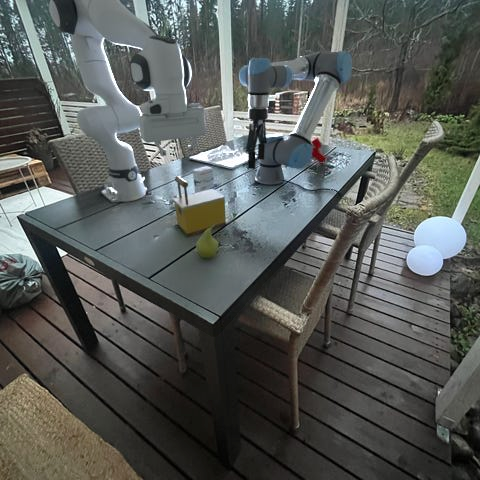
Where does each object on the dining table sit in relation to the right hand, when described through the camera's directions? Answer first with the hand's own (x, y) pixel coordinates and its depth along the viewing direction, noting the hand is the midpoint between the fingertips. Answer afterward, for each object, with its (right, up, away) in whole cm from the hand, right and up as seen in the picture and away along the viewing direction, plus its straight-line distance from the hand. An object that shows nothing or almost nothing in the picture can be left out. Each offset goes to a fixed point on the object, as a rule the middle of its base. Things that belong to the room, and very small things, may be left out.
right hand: (256, 163), depth 113 cm
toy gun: (+36, +17, +58) cm, 70 cm away
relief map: (-18, +22, +66) cm, 71 cm away
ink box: (-24, -9, +18) cm, 31 cm away
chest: (-22, -26, -9) cm, 35 cm away
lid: (-22, -18, -15) cm, 32 cm away
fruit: (-17, -37, -26) cm, 48 cm away
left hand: (-27, -4, -27) cm, 38 cm away
